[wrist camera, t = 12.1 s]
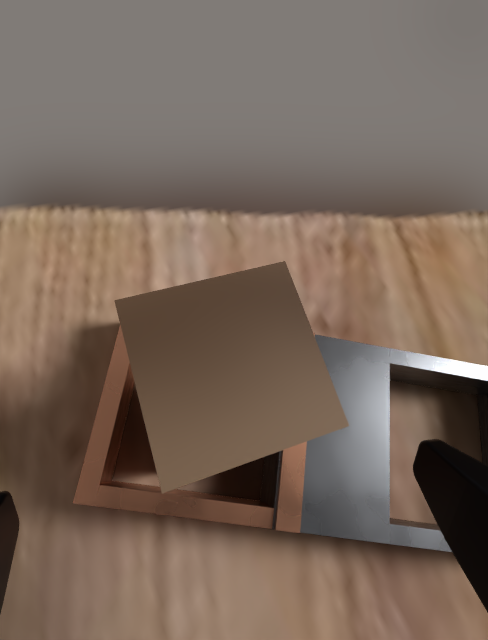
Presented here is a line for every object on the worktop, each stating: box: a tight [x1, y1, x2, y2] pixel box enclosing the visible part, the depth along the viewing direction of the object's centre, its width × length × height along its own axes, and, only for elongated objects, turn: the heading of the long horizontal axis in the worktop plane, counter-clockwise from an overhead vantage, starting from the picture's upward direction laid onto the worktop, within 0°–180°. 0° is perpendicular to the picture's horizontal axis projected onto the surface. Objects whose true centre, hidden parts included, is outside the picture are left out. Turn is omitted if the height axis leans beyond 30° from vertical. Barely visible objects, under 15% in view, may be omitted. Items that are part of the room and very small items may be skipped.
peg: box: [115, 261, 349, 494], centre depth 14 cm, size 4×4×12 cm
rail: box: [73, 325, 488, 552], centre depth 18 cm, size 8×21×3 cm, turn 82°
